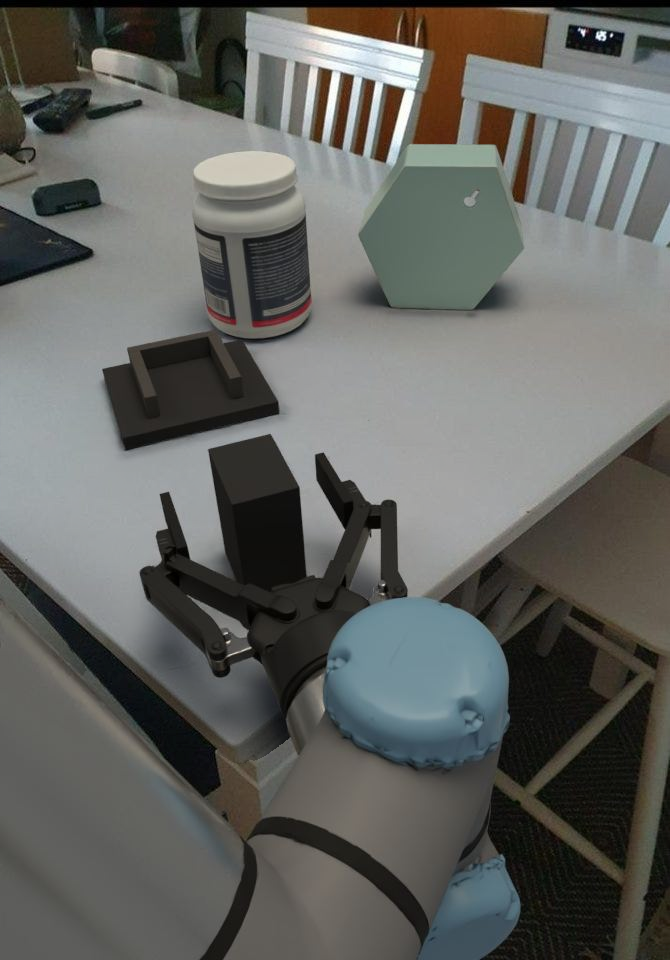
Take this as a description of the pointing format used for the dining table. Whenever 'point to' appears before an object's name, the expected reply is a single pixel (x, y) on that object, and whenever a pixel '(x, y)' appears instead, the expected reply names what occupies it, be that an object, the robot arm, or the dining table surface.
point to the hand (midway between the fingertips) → (245, 485)
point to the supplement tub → (252, 243)
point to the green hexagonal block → (442, 227)
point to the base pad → (186, 388)
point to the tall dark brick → (259, 512)
